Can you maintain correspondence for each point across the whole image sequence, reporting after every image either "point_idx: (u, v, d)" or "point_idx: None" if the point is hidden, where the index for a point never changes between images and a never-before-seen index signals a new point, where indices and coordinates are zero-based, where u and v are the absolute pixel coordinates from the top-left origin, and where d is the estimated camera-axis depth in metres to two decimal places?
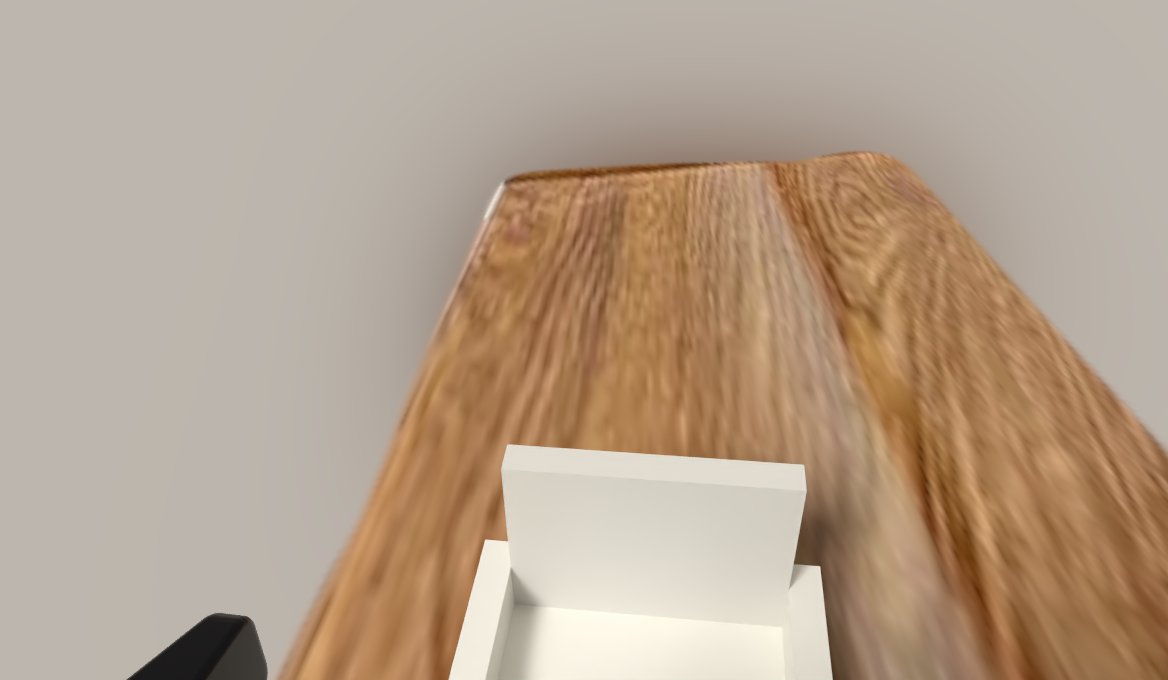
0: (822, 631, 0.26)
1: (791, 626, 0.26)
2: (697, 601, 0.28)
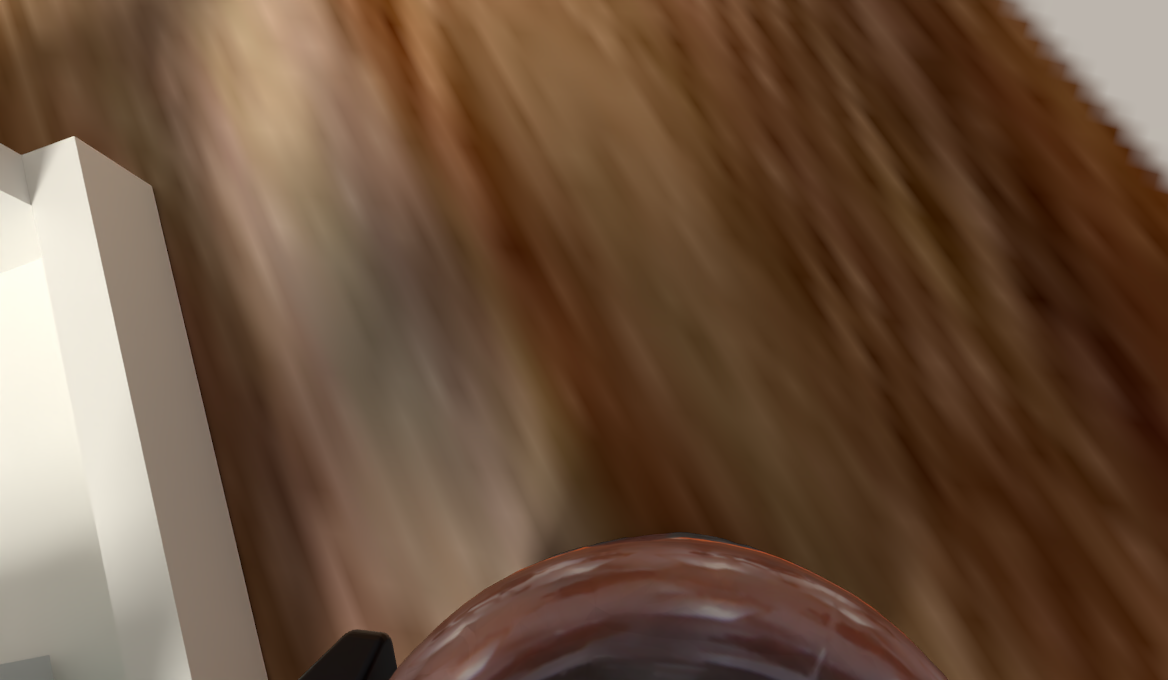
0: (92, 260, 0.16)
1: (47, 271, 0.16)
2: None
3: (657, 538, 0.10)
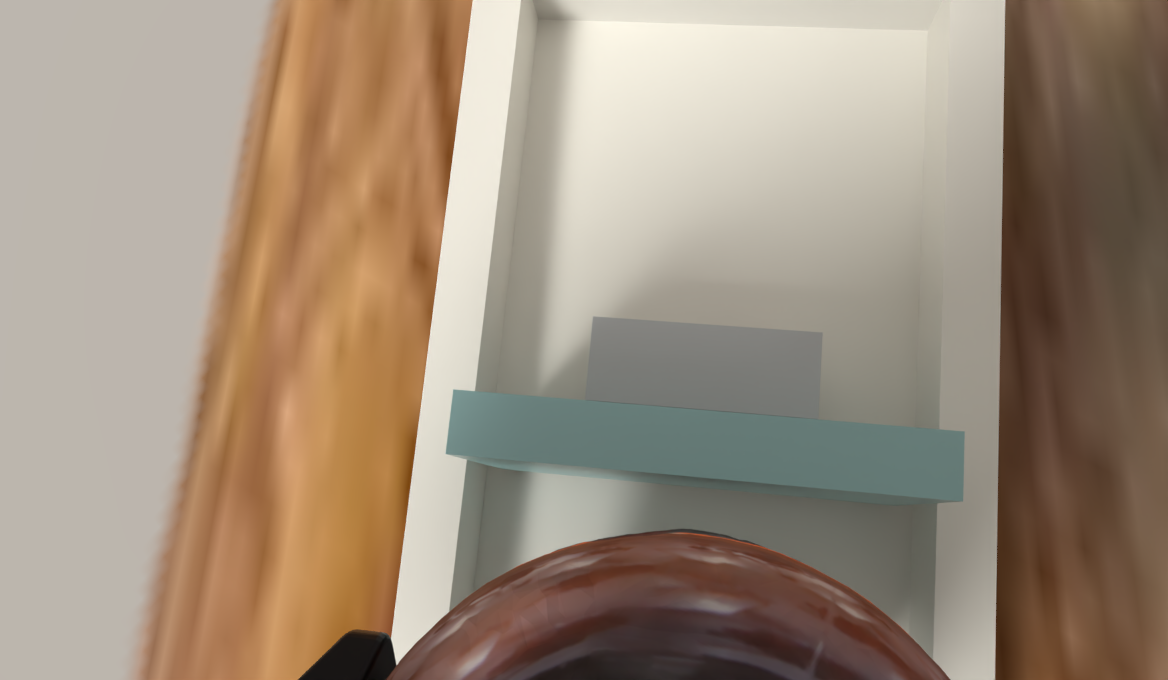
0: (996, 49, 0.17)
1: (949, 43, 0.18)
2: (805, 3, 0.19)
3: None
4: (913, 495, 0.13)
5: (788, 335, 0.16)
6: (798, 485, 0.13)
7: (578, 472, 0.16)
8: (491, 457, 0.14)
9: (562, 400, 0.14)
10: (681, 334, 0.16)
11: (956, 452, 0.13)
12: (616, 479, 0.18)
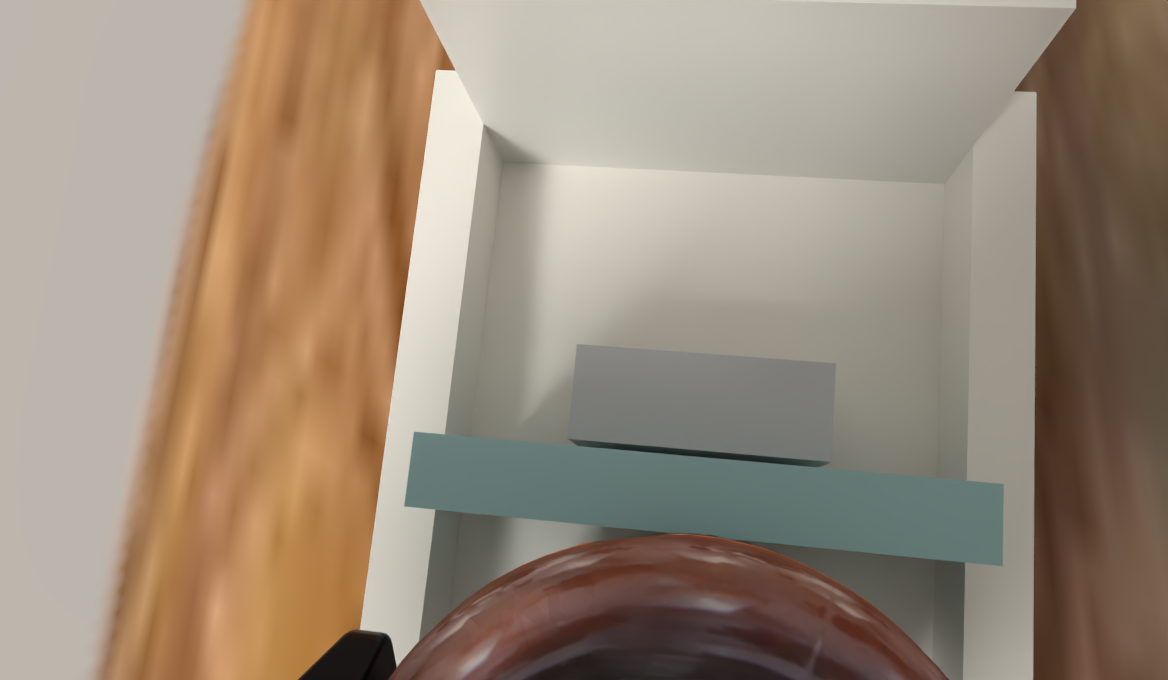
0: (1026, 226, 0.15)
1: (971, 217, 0.15)
2: (805, 158, 0.17)
3: None
4: (944, 558, 0.11)
5: (796, 366, 0.14)
6: (810, 545, 0.12)
7: None
8: (456, 510, 0.12)
9: (538, 445, 0.12)
10: (676, 364, 0.14)
11: (994, 508, 0.11)
12: None
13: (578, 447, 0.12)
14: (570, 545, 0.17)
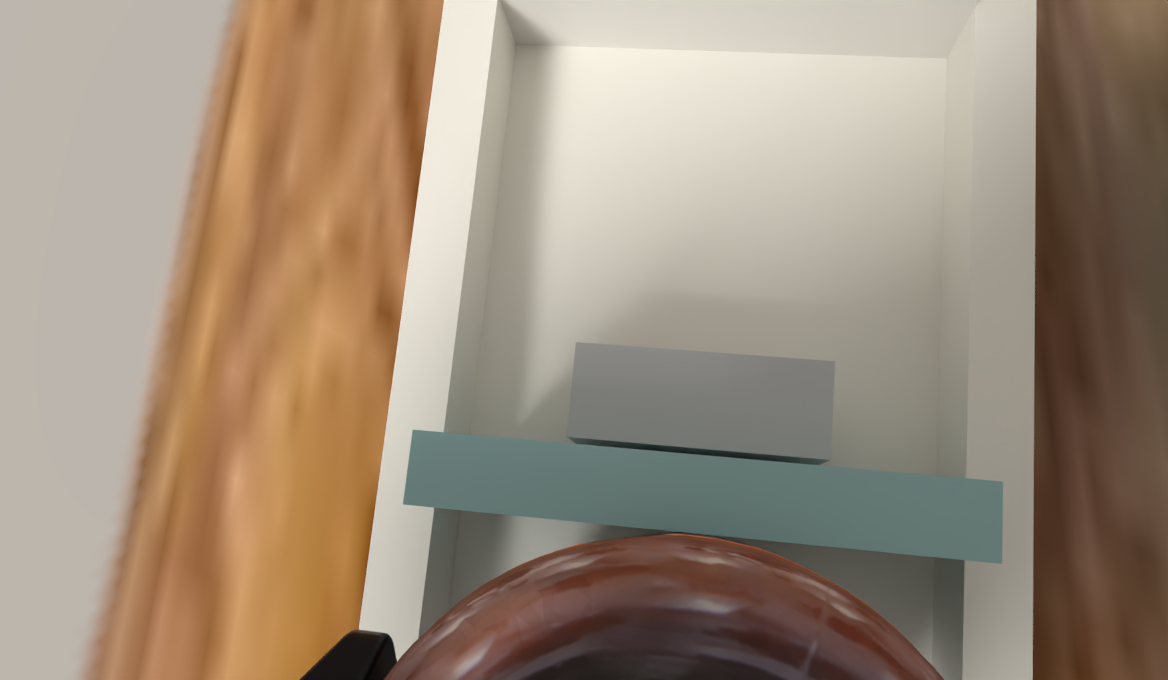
0: (1027, 82, 0.15)
1: (973, 75, 0.16)
2: (811, 29, 0.17)
3: None
4: (944, 556, 0.11)
5: (796, 364, 0.14)
6: (809, 543, 0.12)
7: None
8: (455, 508, 0.12)
9: (537, 443, 0.12)
10: (675, 362, 0.14)
11: (993, 506, 0.11)
12: None
13: (577, 445, 0.12)
14: None
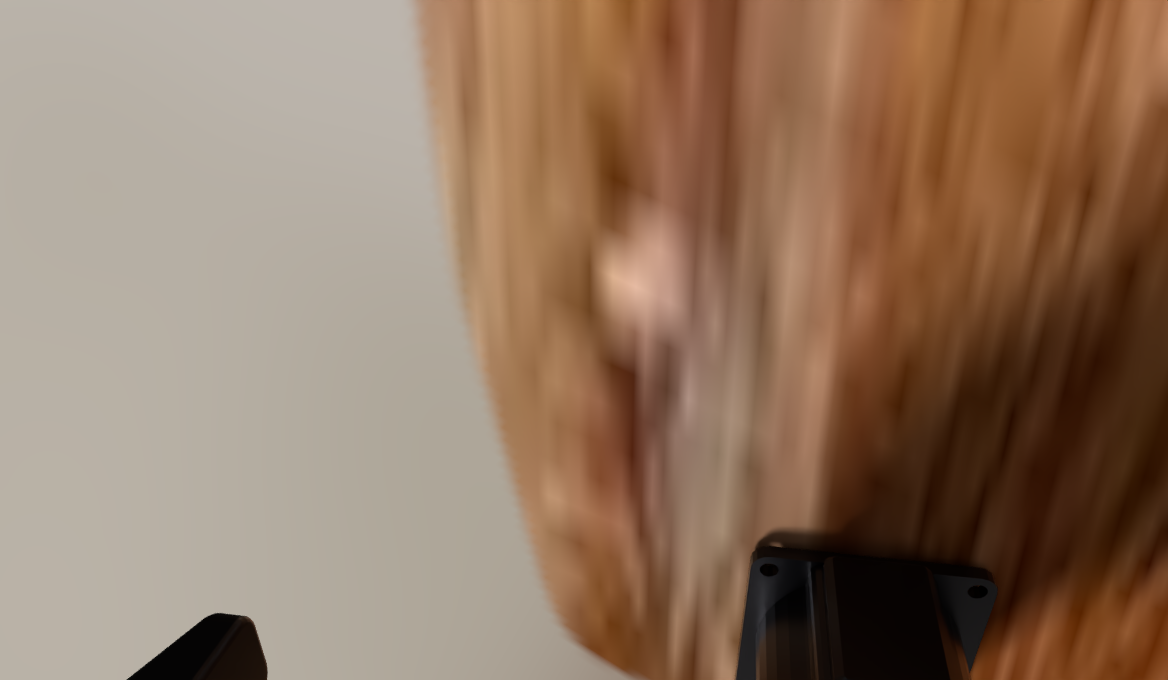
0: None
1: None
2: None
3: None
4: None
5: None
6: None
7: None
8: None
9: None
10: None
11: None
12: None
13: None
14: None
